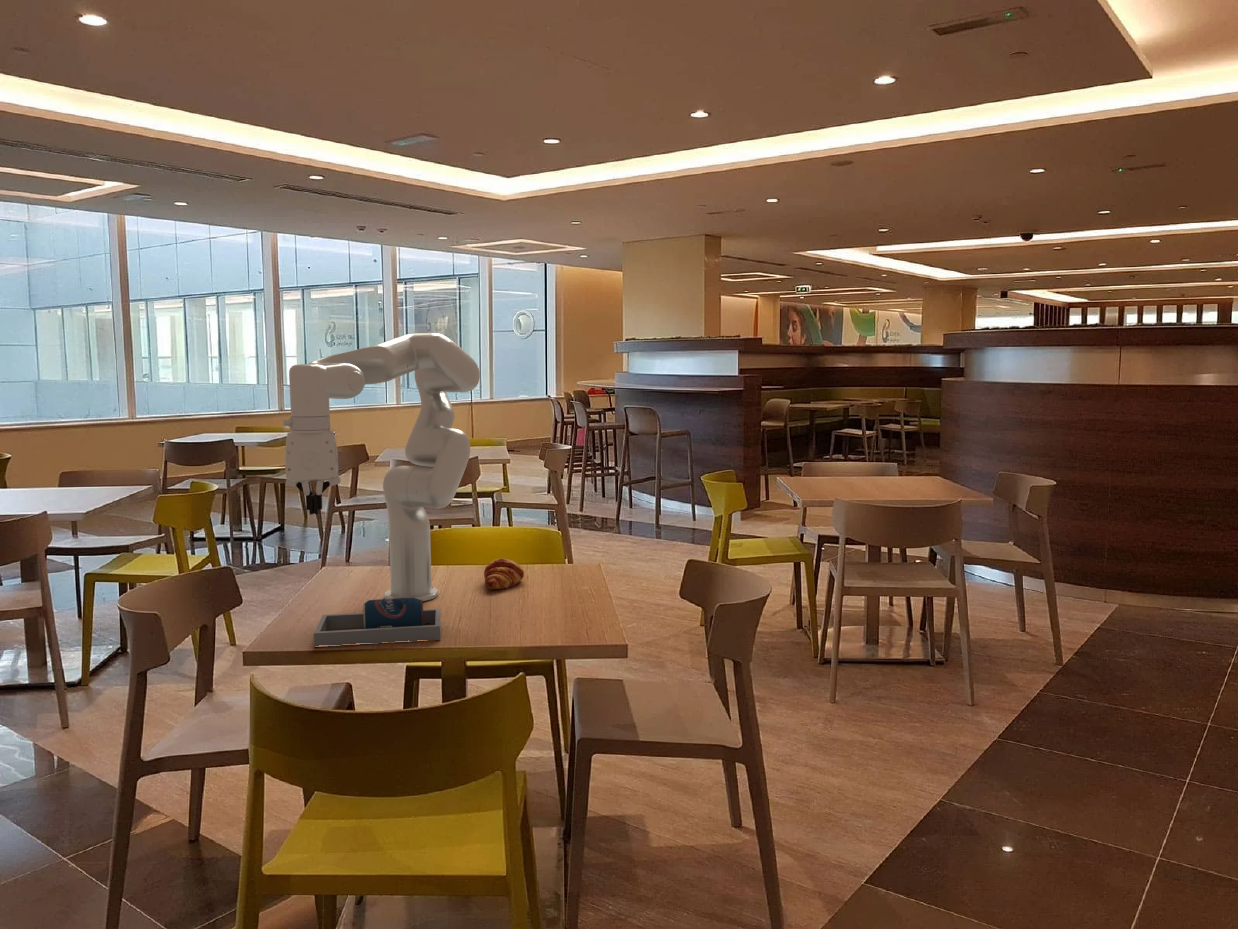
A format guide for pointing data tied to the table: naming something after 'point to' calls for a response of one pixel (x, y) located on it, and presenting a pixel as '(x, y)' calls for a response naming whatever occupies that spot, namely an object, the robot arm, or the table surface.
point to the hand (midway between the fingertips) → (314, 513)
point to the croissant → (502, 574)
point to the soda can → (393, 613)
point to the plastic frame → (373, 630)
